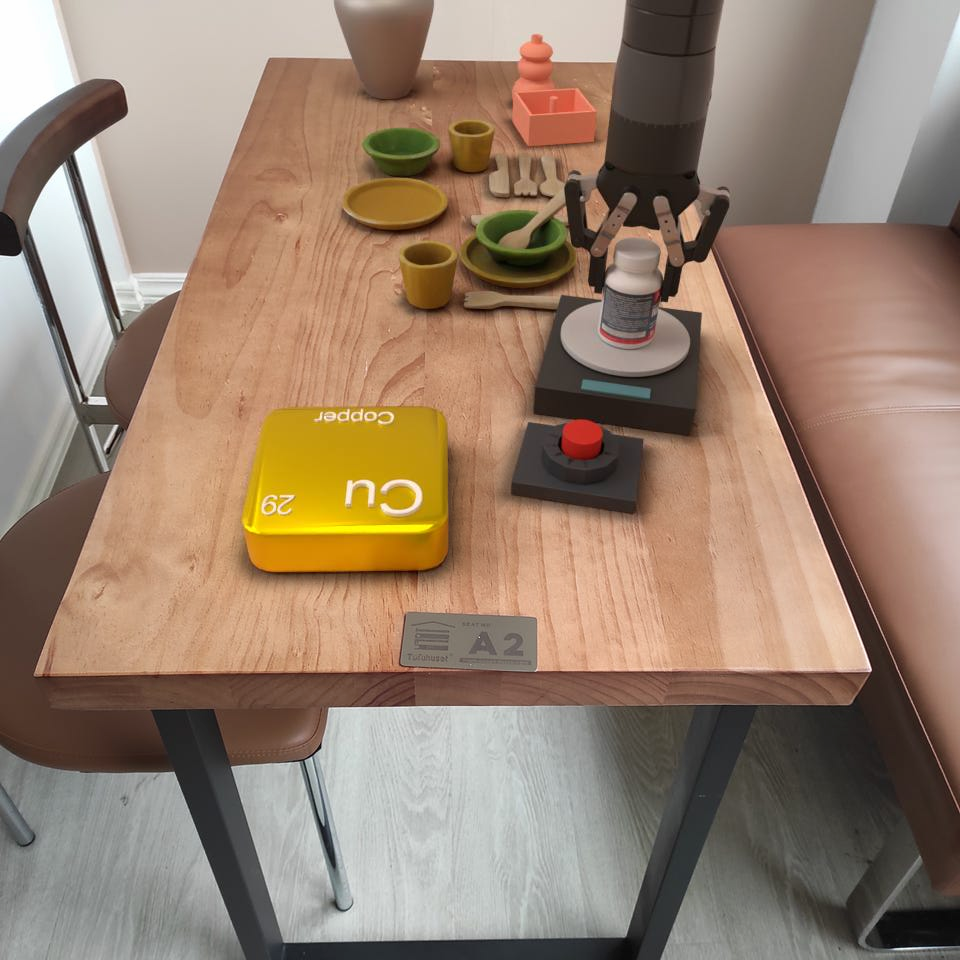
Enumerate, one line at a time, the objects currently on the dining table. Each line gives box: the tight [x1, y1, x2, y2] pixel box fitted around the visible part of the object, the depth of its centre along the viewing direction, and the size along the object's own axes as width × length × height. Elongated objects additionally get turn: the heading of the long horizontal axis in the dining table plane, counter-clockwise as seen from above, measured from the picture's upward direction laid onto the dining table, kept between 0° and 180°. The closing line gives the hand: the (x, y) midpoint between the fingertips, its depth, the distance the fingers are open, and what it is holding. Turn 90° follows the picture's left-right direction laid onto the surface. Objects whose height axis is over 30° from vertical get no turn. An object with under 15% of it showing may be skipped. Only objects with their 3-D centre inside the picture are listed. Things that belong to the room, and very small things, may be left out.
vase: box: [333, 0, 435, 100], centre depth 134 cm, size 14×14×25 cm
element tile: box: [241, 405, 449, 573], centre depth 73 cm, size 15×15×5 cm
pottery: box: [511, 33, 598, 147], centre depth 132 cm, size 18×10×10 cm, turn 13°
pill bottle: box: [598, 237, 664, 349], centre depth 83 cm, size 5×5×9 cm
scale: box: [532, 294, 703, 437], centre depth 87 cm, size 14×16×4 cm
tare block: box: [510, 421, 645, 514], centre depth 77 cm, size 10×8×3 cm
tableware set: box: [340, 118, 577, 311], centre depth 108 cm, size 41×28×6 cm
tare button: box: [561, 419, 603, 460], centre depth 75 cm, size 3×3×2 cm
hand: (631, 292), depth 83 cm, fingers closed on pill bottle, 5 cm apart
